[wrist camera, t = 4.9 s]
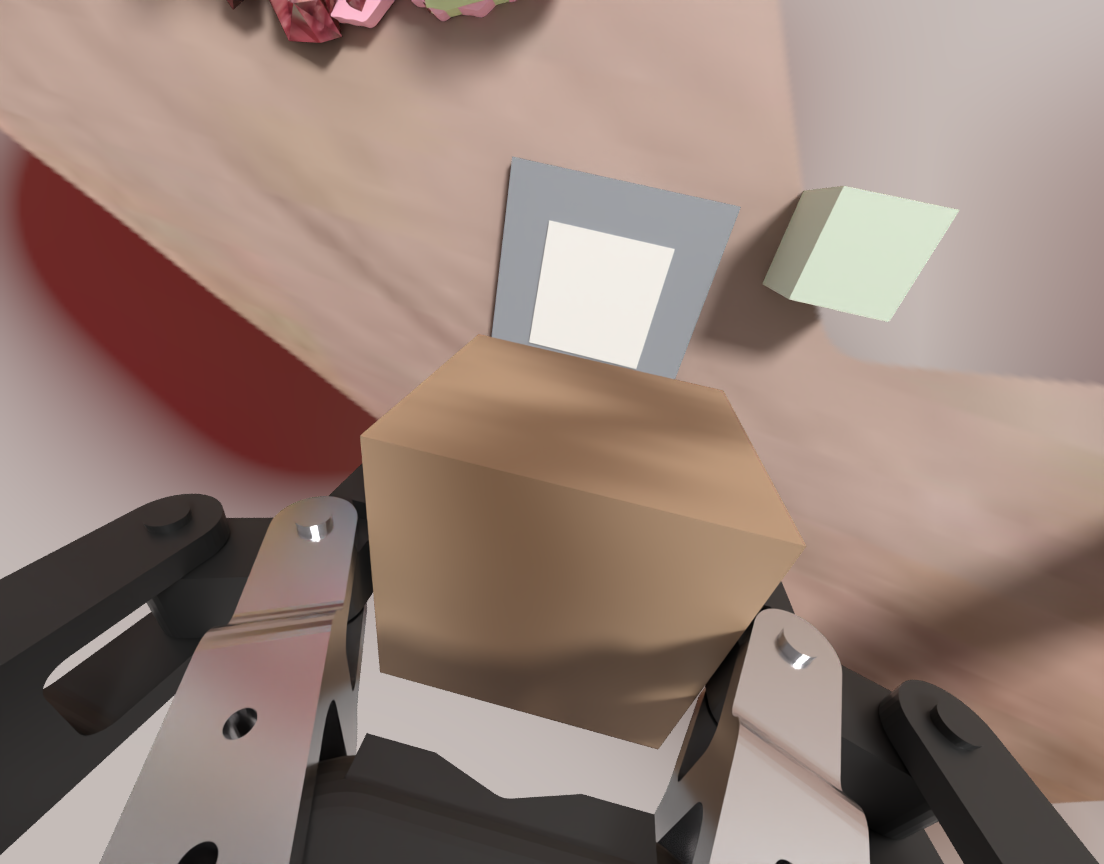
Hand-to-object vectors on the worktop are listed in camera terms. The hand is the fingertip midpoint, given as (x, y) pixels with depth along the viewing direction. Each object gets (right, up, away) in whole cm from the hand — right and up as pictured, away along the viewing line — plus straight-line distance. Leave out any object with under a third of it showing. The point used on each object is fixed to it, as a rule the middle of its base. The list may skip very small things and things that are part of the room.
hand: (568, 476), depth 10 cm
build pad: (+2, +9, +14) cm, 17 cm away
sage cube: (+14, +11, +10) cm, 20 cm away
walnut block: (0, 0, +1) cm, 1 cm away
